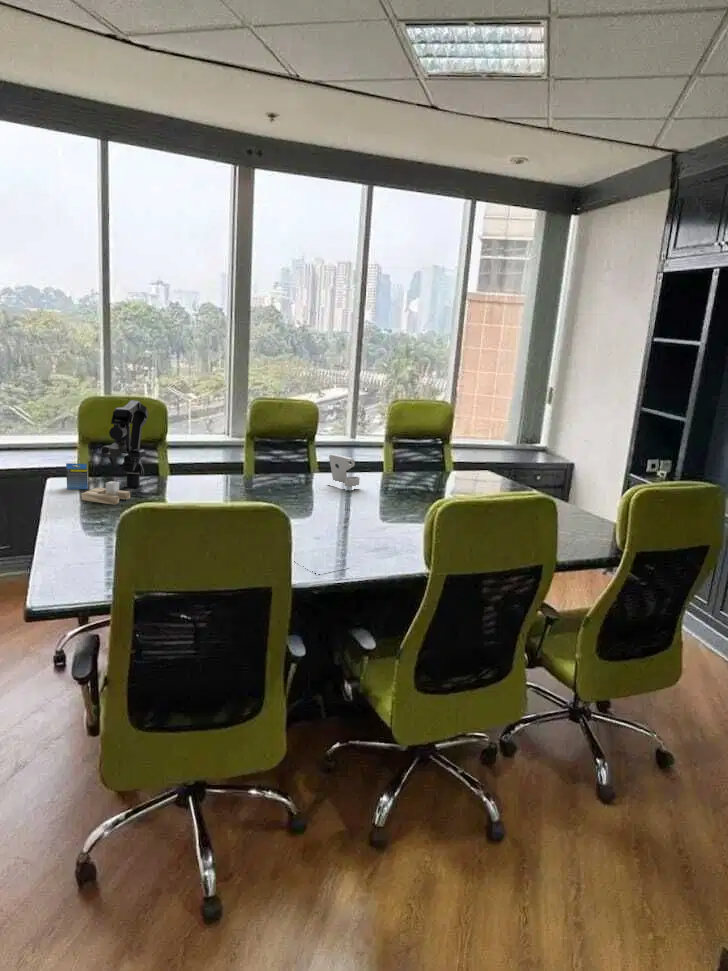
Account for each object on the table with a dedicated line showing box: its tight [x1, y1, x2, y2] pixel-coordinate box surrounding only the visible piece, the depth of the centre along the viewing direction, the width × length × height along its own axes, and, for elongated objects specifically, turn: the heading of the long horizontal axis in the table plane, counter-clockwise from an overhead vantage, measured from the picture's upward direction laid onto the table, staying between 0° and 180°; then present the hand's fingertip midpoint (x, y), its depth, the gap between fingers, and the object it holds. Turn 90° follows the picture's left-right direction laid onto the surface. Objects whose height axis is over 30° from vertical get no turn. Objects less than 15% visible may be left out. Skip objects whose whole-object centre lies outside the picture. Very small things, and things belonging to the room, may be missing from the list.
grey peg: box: [105, 480, 120, 496], centre depth 266 cm, size 4×4×8 cm
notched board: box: [81, 487, 131, 505], centre depth 267 cm, size 12×16×3 cm
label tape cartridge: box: [65, 462, 89, 490], centre depth 278 cm, size 9×4×12 cm, turn 108°
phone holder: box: [328, 453, 360, 487], centre depth 325 cm, size 17×10×18 cm, turn 54°
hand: (123, 469), depth 272 cm, fingers open, 9 cm apart
